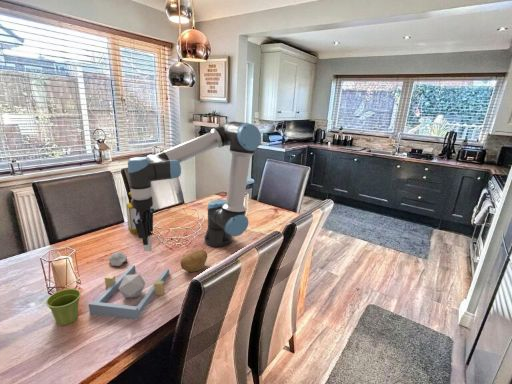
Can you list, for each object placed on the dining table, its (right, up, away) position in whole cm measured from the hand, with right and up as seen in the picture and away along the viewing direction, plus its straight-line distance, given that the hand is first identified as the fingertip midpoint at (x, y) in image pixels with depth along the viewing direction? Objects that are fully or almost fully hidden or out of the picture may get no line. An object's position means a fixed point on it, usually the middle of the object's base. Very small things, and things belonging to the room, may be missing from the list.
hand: (147, 250), depth 116 cm
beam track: (-2, -14, -7) cm, 16 cm away
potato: (+18, -11, +10) cm, 23 cm away
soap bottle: (-22, +3, +46) cm, 51 cm away
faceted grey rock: (-2, -15, -9) cm, 18 cm away
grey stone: (-18, -8, +11) cm, 23 cm away
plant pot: (-18, -19, -23) cm, 35 cm away
